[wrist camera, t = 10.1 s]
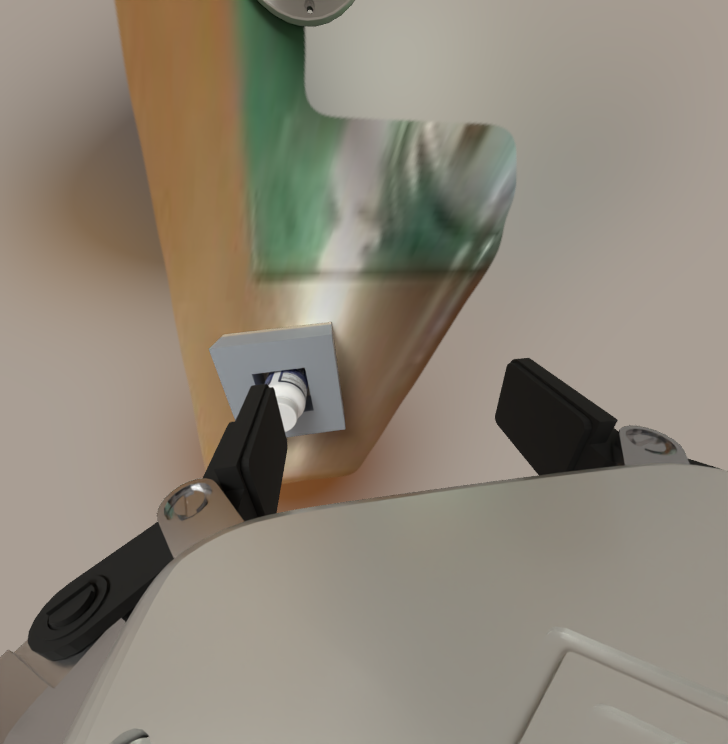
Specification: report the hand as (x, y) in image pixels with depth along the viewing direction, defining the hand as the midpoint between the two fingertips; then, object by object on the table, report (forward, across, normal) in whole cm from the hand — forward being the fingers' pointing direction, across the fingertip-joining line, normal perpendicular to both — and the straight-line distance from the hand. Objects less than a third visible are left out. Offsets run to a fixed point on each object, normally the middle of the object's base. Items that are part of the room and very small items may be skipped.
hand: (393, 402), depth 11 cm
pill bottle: (+26, +9, +13) cm, 30 cm away
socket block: (+26, +10, +13) cm, 31 cm away
